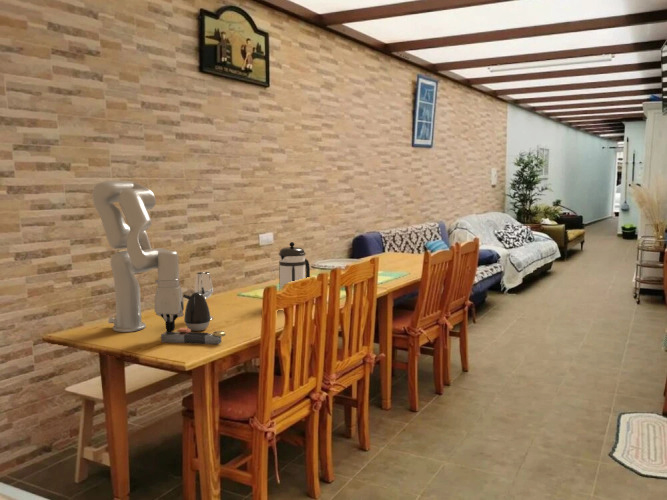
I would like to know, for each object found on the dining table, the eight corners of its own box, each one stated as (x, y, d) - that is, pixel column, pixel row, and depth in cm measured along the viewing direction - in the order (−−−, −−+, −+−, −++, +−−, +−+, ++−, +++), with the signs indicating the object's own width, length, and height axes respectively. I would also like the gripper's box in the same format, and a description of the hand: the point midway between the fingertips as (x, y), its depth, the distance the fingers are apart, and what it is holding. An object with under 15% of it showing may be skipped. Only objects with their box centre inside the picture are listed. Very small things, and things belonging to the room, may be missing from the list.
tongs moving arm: (161, 342, 212) (161, 333, 212) (163, 341, 214) (162, 332, 213) (218, 344, 209) (217, 336, 209) (219, 343, 211) (219, 334, 210)
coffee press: (311, 307, 268) (310, 243, 264) (276, 307, 267) (275, 244, 263) (309, 299, 285) (309, 239, 281) (277, 299, 284) (276, 239, 280)
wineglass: (209, 321, 243) (207, 274, 240) (192, 320, 244) (190, 274, 242) (216, 316, 250) (215, 271, 248) (200, 316, 252) (198, 271, 249)
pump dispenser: (186, 326, 235) (185, 290, 233) (212, 325, 236) (211, 289, 234) (182, 333, 225) (180, 295, 223) (209, 332, 225) (207, 294, 224)
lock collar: (178, 340, 214) (178, 329, 214) (183, 337, 219) (183, 326, 218) (186, 340, 214) (185, 329, 213) (191, 337, 218) (190, 326, 217)
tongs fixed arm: (161, 342, 212) (160, 331, 212) (166, 338, 217) (166, 328, 216) (223, 345, 208) (222, 334, 208) (227, 341, 212) (227, 331, 212)
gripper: (145, 284, 212) (147, 332, 215) (182, 286, 210) (184, 335, 212) (155, 280, 220) (157, 327, 222) (191, 282, 217) (193, 329, 219)
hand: (170, 330), depth 217 cm, fingers closed
